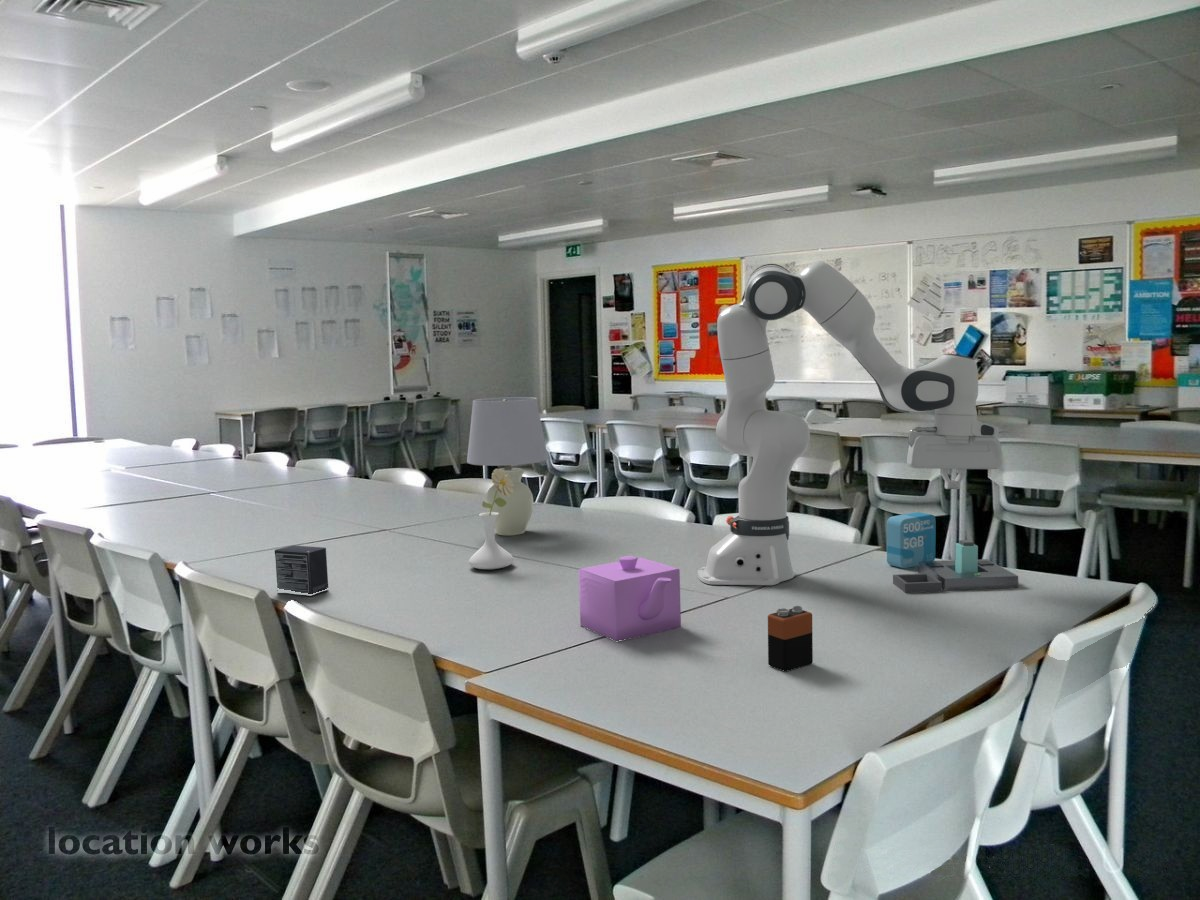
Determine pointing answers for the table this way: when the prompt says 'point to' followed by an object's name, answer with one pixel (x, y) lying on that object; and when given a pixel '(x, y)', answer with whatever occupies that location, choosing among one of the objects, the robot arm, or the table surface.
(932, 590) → the tray
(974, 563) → the aqua plug
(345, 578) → the table surface
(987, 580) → the panel
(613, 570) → the teapot
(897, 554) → the data package
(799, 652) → the battery
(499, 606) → the table surface
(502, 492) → the flower in vase
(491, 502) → the lamp
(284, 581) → the small box
